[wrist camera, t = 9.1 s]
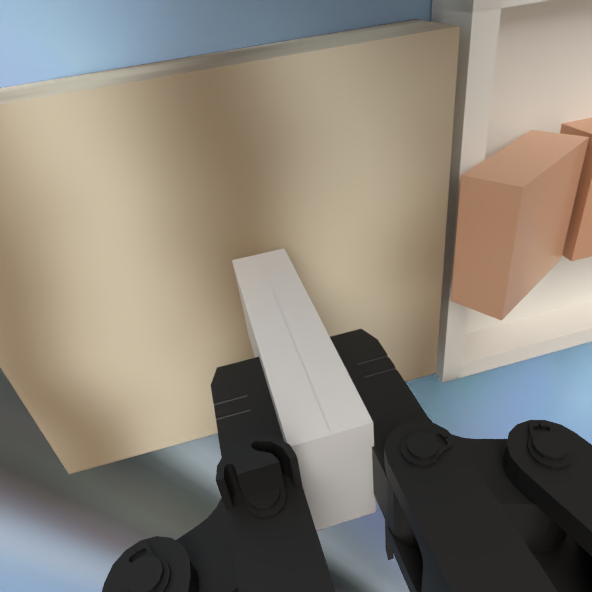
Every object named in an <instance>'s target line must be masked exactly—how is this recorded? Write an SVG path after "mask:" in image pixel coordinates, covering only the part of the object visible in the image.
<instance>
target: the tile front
mask: <svg viewBox="0 0 592 592" xmlns="http://www.w3.org/2000/svg"><path fill="white" fill-rule="evenodd" d="M588 140H589V137H585V136H577V135H569V134H561V133H553V132H545V131H537V130H531V131H529V132H527V133H526V134H524V135H523V136H521V137H520V138H518V139H517V140H515V141H513V142H512V143H510V144H509V145H507V146H506V147H504V148H503V149H501V150H499V151H498V152H496V153H495V154H493V155H492V156H490V157H489V158H487V159H485V160H484V161H482V162H481V163H479V164H478V165H476V166H474V167H473V168H471V169H470V170H468V171H467V172H465V173H464V174H462V175H461V183H460V195H459V207H458V219H457V231H456V244H455V256H454V268H453V280H452V292H451V301H452V302H455V303H457V304H460V305H463V306H465V307H468V308H470V309H473V310H475V311H478V312H481V313H483V314H486V315H488V316H491V317H493V318H496V319H499V320H501V321H502V320H503V319H504V318H505V317H506V316H507V315H508V314H509V313H510V312H511V310H512V309H513V308H514V307H515V306H516V305H517V304H518V303H519V302H520V301H521V300H522V299H523V298H524V297H525V296H526V295H527V294H528V293H529V292H530V291H531V290H532V289H533V288H534V287H535V286H536V285H537V284H538V283H539V282H540V281H541V280H542V279H543V278H544V277H545V276H546V274H547V273H548V272H549V271H550V270H551V269H552V268H553V267H554V266H555V265H556V264H557V263H558V262H559V261H560V260H561V257H562V253H563V248H564V244H565V240H566V235H567V231H568V227H569V222H570V218H571V214H572V209H573V205H574V201H575V196H576V192H577V188H578V183H579V179H580V175H581V170H582V166H583V162H584V157H585V153H586V149H587V144H588Z"/></svg>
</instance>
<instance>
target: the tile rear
mask: <svg viewBox="0 0 592 592" xmlns="http://www.w3.org/2000/svg"><path fill="white" fill-rule="evenodd" d="M560 133H561V134H569V135H577V136H585V137H589V140H588V144H587V149H586V153H585V157H584V162H583V166H582V170H581V175H580V179H579V183H578V188H577V192H576V196H575V201H574V205H573V209H572V214H571V218H570V222H569V227H568V231H567V235H566V240H565V244H564V248H563V253H562V255H563V256H564V257H566V258H567V259H569V260H570V261H575V260H579V259H583V258H587V257H591V256H592V117H591V118H586V119H582V120H577V121H572V122H567V123H562V125H561V130H560Z"/></svg>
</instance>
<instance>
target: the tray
mask: <svg viewBox="0 0 592 592" xmlns="http://www.w3.org/2000/svg"><path fill="white" fill-rule="evenodd" d="M431 22H437V23H443V24H450V25H456V26H460V35H459V49H458V63H457V78H456V92H455V106H454V121H453V135H452V149H451V164H450V178H449V192H448V207H447V221H446V235H445V250H444V264H443V278H442V293H441V307H440V321H439V336H438V350H437V364H436V375H437V376H438V377H439V379H440V380H441V382H442V383H444V382H447V381H451V380H455V379H458V378H462V377H465V376H469V375H472V374H476V373H480V372H483V371H487V370H490V369H494V368H498V367H501V366H505V365H508V364H512V363H516V362H519V361H523V360H526V359H530V358H534V357H537V356H541V355H544V354H548V353H552V352H555V351H559V350H562V349H566V348H570V347H573V346H577V345H580V344H584V343H587V342H591V341H592V256H591V257H587V258H583V259H579V260H575V261H570V260H569V259H567V258H566V257H564V256H563V255H562V257H561V260H560V261H559V262H558V263H557V264H556V265H555V266H554V267H553V268H552V269H551V270H550V271H549V272H548V273H547V274H546V276H545V277H544V278H543V279H542V280H541V281H540V282H539V283H538V284H537V285H536V286H535V287H534V288H533V289H532V290H531V291H530V292H529V293H528V294H527V295H526V296H525V297H524V298H523V299H522V300H521V301H520V302H519V303H518V304H517V305H516V306H515V307H514V308H513V309H512V310H511V312H510V313H509V314H508V315H507V316H506V317H505V318H504V319H503V320H502V321H501V320H499V319H496V318H493V317H491V316H488V315H486V314H483V313H481V312H478V311H475V310H473V309H470V308H468V307H465V306H463V305H460V304H457V303H455V302H452V301H451V292H452V280H453V268H454V256H455V244H456V231H457V219H458V207H459V195H460V183H461V175H462V174H464V173H465V172H467V171H468V170H470V169H471V168H473V167H474V166H476V165H478V164H479V163H481V162H482V161H484V160H485V159H487V158H489V157H490V156H492V155H493V154H495V153H496V152H498V151H499V150H501V149H503V148H504V147H506V146H507V145H509V144H510V143H512V142H513V141H515V140H517V139H518V138H520V137H521V136H523V135H524V134H526V133H527V132H529V131H531V130H537V131H545V132H553V133H560V130H561V125H562V123H567V122H572V121H577V120H582V119H586V118H591V117H592V0H432V15H431Z"/></svg>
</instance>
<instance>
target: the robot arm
mask: <svg viewBox="0 0 592 592" xmlns="http://www.w3.org/2000/svg"><path fill="white" fill-rule="evenodd" d="M232 263H233V267H234V272H235V276H236V281H237V285H238V290H239V294H240V299H241V303H242V308H243V312H244V316H245V321H246V325H247V330H248V334H249V338H250V342H251V345H252V349H253V352H254V356H255V358H252V359H248V360H244V361H240V362H236V363H232V364H229V365H225V366H221V367H217V369H216V372H215V374H214V377H213V380H212V383H211V391H212V398H213V404H214V411H215V417H216V423H217V430H218V436H219V443H220V449H221V456H222V458H221V460H220V462H219V464H218V466H217V474H216V482H217V485H218V488H219V491H220V494H221V496H222V498H221V500H220V502H219V504H218V506H217V507H216V509H215V510H214V511H213V512H212V514H211V515H210V516H209V517H208V518H207V519H206V520H204V521H203V522H202V523H201V524H199V525H198V526H197V527H195V528H194V529H192V530H191V531H189V532H188V533H186V534H185V535H183V536H182V537H180V538H179V539H177V540H176V541H175V540H174V539H172V538H167V537H159V536H156V537H152V538H149V539H145V540H141V541H139V542H138V543H136V544H135V545H133V546H132V547H130V548H129V549H127V550H126V551H125V552H124V553H123V554H122V555H121V556H120V557H119V559H118V560H117V561H116V562H115V563H114V564H113V566H112V568H111V570H110V572H109V574H108V576H107V579H106V581H105V583H104V586H103V590H102V592H335V590H334V586H333V583H332V580H331V577H330V573H329V570H328V567H327V564H326V561H325V557H324V554H323V551H322V548H321V544H320V541H319V538H318V535H317V532H316V531H318V530H321V529H324V528H327V527H331V526H334V525H337V524H340V523H343V522H346V521H349V520H353V519H356V518H359V517H362V516H365V515H368V514H371V513H374V512H376V500H377V502H378V504H379V506H380V509H381V511H382V513H383V515H384V518H385V535H386V552H387V557H388V560H390V559H393V553H394V555H395V558H396V560H397V562H398V565H399V567H400V569H401V572H402V574H403V576H404V579H405V581H406V583H407V586H408V588H409V591H410V592H592V445H591V444H590V443H588V442H587V441H586V440H584V439H583V438H582V437H580V436H579V435H578V434H576V433H575V432H573V431H571V430H569V429H568V428H566V427H564V426H562V425H560V424H557V423H553V422H549V421H546V420H529V421H526V422H523V423H520V424H517V425H516V426H515V427H514V428H513V429H512V430H511V431H510V432H509V435H508V439H469V438H462V437H458V436H455V435H451V434H450V433H449V432H448V431H447V430H446V429H444V428H442V427H440V426H438V425H436V424H434V423H433V422H432V421H431V420H430V419H429V418H428V417H427V415H426V414H425V412H424V411H423V409H422V407H421V406H420V404H419V403H418V401H417V400H416V398H415V397H414V395H413V393H412V392H411V390H410V389H409V387H408V386H407V384H406V383H405V381H404V379H403V378H402V376H401V375H400V373H399V372H398V370H396V368H395V365H394V364H393V362H392V361H391V359H390V358H388V355H387V353H386V351H385V350H384V348H383V347H382V345H381V344H380V342H379V341H378V339H376V338H375V337H373V336H372V335H370V334H369V333H367V332H366V331H364V330H363V329H358V330H354V331H350V332H346V333H342V334H338V335H335V336H331V337H329V335H328V333H327V331H326V329H325V327H324V325H323V323H322V321H321V319H320V317H319V315H318V313H317V311H316V309H315V307H314V305H313V303H312V301H311V300H310V298H309V296H308V294H307V292H306V290H305V288H304V286H303V284H302V282H301V280H300V278H299V276H298V274H297V272H296V270H295V268H294V266H293V264H292V262H291V260H290V258H289V257H288V255H287V253H286V251H285V249H284V248H283V249H279V250H274V251H270V252H266V253H261V254H257V255H253V256H248V257H244V258H240V259H235V260H232Z"/></svg>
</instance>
